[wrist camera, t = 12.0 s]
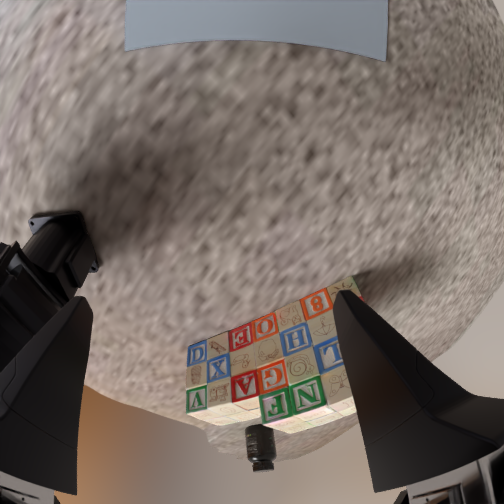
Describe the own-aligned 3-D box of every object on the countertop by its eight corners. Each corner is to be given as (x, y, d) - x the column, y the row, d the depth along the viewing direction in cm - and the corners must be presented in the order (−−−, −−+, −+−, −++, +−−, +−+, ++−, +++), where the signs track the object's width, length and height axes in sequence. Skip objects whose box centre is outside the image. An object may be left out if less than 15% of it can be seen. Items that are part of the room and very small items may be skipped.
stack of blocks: (216, 365, 36) (218, 448, 26) (186, 345, 33) (183, 438, 23) (364, 304, 31) (402, 394, 21) (352, 273, 27) (399, 376, 18)
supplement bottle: (246, 432, 59) (250, 473, 50) (243, 425, 55) (247, 471, 46) (272, 429, 60) (278, 470, 50) (272, 422, 55) (278, 467, 46)
